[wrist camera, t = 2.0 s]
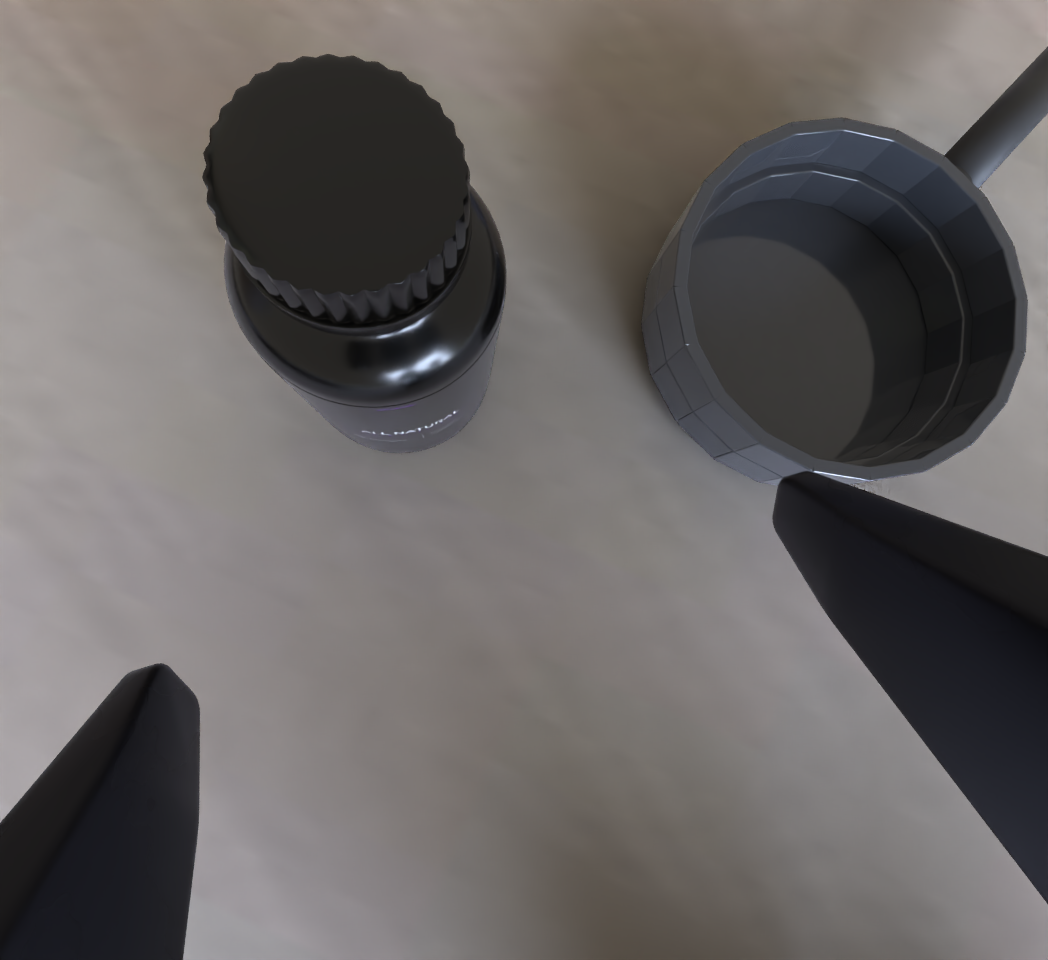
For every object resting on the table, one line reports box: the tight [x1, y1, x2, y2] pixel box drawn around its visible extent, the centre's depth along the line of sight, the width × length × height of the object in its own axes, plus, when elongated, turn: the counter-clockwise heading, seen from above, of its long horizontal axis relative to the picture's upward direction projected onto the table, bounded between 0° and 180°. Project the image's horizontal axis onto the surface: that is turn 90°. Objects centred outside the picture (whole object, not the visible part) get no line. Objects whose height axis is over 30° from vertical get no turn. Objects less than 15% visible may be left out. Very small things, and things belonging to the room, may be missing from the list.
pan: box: [641, 118, 1028, 485], centre depth 22 cm, size 13×13×4 cm
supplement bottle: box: [202, 54, 506, 453], centre depth 16 cm, size 7×7×12 cm
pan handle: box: [944, 47, 1048, 188], centre depth 23 cm, size 11×2×2 cm, turn 135°
